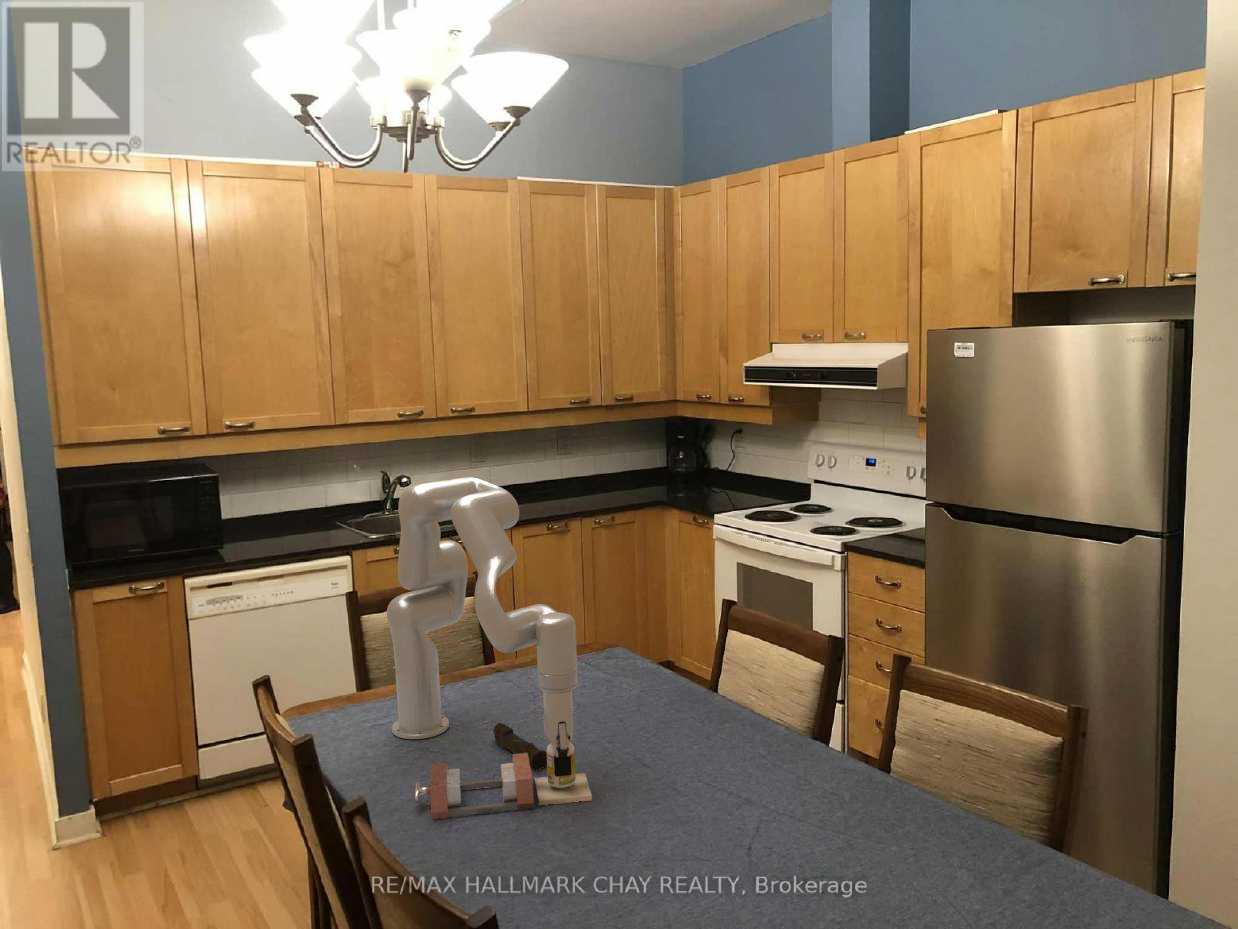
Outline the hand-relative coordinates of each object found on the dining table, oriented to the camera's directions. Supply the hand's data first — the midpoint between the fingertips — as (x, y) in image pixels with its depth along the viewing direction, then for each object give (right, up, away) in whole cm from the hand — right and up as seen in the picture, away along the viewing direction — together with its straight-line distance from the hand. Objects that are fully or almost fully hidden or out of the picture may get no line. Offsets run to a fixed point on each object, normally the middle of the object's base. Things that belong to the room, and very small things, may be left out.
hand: (561, 767), depth 197 cm
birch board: (0, -5, +1) cm, 5 cm away
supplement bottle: (0, -3, +1) cm, 3 cm away
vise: (-16, -6, -2) cm, 18 cm away
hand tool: (-11, -3, +18) cm, 21 cm away
